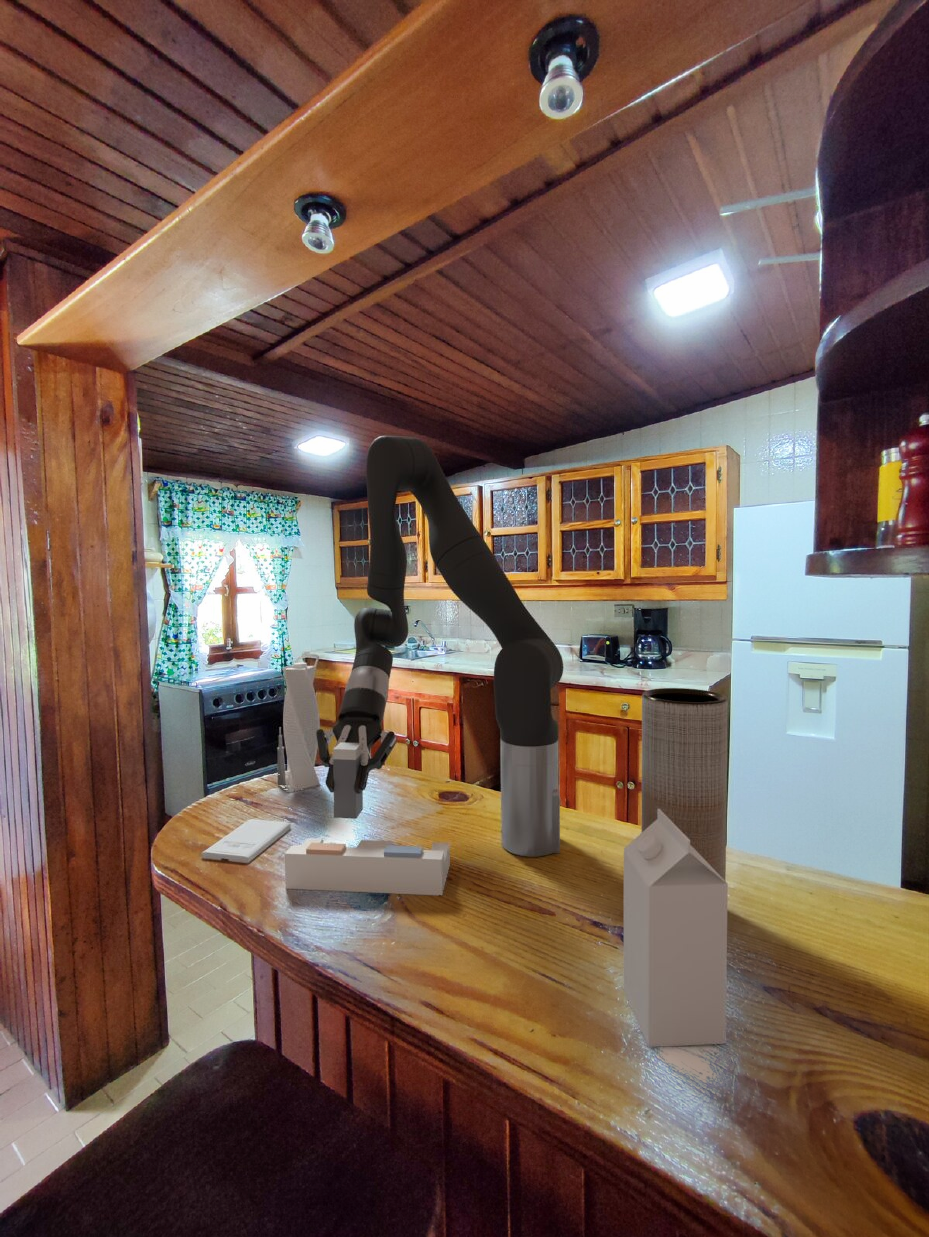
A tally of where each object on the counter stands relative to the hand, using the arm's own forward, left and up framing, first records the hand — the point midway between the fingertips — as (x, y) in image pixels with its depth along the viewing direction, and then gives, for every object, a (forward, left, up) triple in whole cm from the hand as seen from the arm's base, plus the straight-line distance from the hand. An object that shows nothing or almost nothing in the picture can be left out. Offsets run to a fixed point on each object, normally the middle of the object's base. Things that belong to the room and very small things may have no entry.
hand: (344, 790), depth 86 cm
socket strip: (-6, +7, -10) cm, 13 cm away
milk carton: (-42, +30, -10) cm, 52 cm away
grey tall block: (0, -2, -4) cm, 5 cm away
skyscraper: (+19, -29, -11) cm, 37 cm away
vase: (-48, +12, -10) cm, 50 cm away
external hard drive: (+17, -3, -11) cm, 21 cm away
